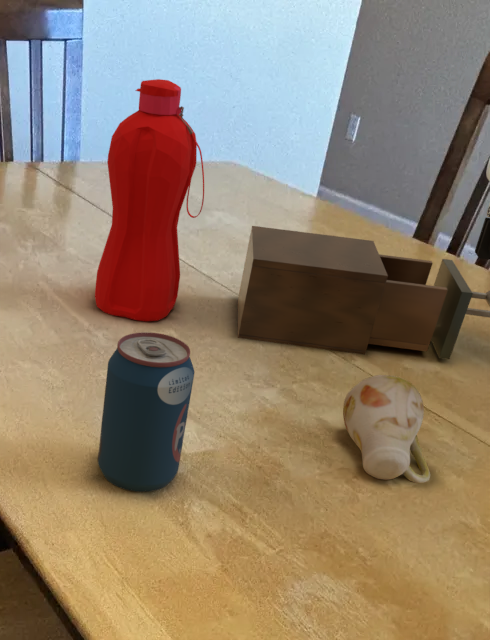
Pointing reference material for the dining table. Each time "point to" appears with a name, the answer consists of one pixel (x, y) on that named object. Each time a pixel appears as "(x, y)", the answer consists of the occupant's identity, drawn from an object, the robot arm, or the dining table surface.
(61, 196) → the dining table surface
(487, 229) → the robot arm
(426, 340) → the drawer
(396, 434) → the mug
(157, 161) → the water bottle
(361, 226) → the dining table surface
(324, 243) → the cabinet
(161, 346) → the soda can
